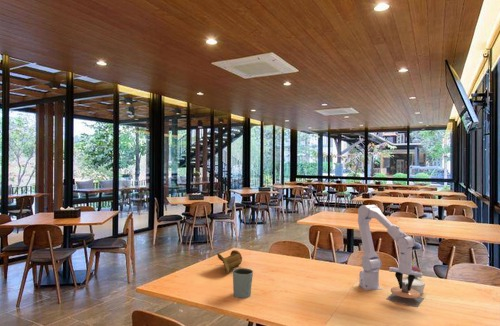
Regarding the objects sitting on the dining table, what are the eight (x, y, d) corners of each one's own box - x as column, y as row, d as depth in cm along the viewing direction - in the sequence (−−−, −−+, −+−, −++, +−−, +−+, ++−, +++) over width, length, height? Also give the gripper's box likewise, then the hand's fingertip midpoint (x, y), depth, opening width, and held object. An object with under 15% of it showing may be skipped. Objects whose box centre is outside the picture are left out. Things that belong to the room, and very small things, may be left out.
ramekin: (405, 286, 179) (405, 276, 179) (427, 292, 171) (427, 281, 171) (397, 291, 171) (397, 281, 171) (420, 297, 163) (420, 287, 163)
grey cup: (229, 293, 165) (229, 269, 166) (247, 290, 169) (248, 267, 170) (236, 300, 156) (237, 275, 156) (256, 297, 160) (256, 272, 160)
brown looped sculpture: (203, 257, 203) (229, 246, 219) (209, 278, 202) (235, 265, 217) (221, 254, 190) (247, 242, 206) (228, 276, 189) (253, 262, 205)
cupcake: (422, 280, 188) (423, 259, 188) (406, 279, 190) (407, 258, 190) (418, 276, 196) (418, 255, 197) (403, 274, 198) (403, 254, 198)
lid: (399, 298, 153) (399, 288, 153) (385, 288, 166) (385, 279, 166) (426, 297, 154) (426, 288, 154) (410, 287, 167) (410, 278, 167)
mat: (417, 308, 150) (417, 307, 150) (385, 300, 159) (385, 299, 159) (424, 299, 161) (424, 298, 161) (394, 291, 170) (394, 291, 170)
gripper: (423, 262, 159) (423, 290, 159) (392, 256, 168) (392, 283, 168) (420, 265, 153) (419, 294, 153) (388, 259, 163) (387, 287, 163)
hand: (405, 289), depth 160 cm, fingers closed on lid, 3 cm apart
